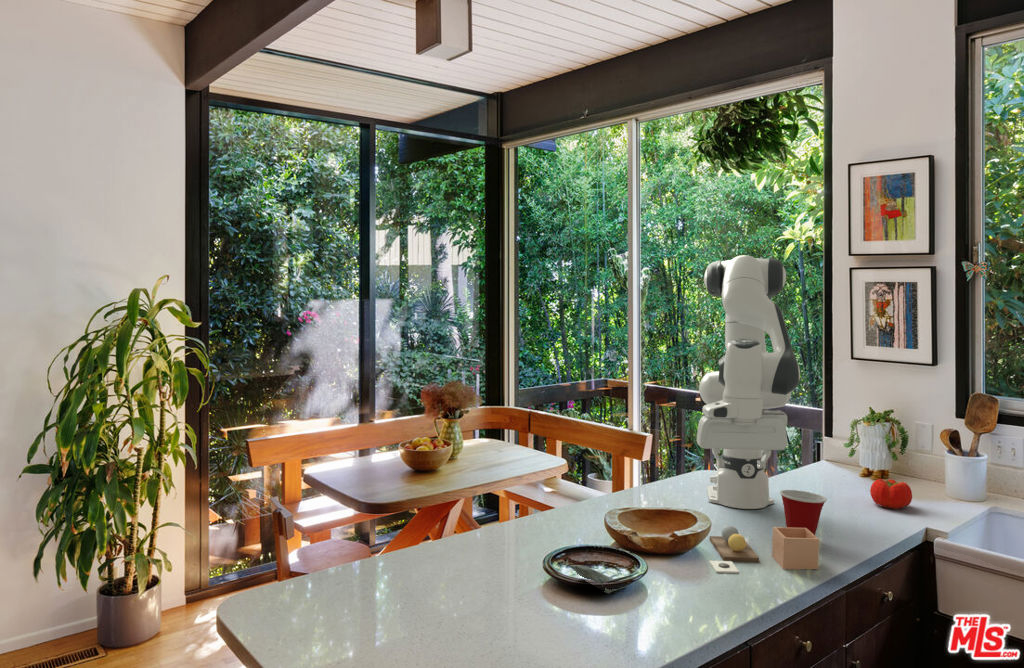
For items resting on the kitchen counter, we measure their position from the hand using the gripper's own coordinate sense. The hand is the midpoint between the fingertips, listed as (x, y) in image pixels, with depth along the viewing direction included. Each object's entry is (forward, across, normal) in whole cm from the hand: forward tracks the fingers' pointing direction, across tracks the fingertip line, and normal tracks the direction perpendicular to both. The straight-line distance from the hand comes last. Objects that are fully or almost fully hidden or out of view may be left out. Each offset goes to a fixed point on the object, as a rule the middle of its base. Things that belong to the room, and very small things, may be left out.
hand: (740, 468), depth 166 cm
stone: (+22, +34, +19) cm, 45 cm away
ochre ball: (+18, 0, 0) cm, 18 cm away
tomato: (+20, -56, -43) cm, 73 cm away
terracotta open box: (+21, -12, +4) cm, 24 cm away
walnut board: (+21, 0, -3) cm, 21 cm away
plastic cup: (+21, -19, -11) cm, 30 cm away
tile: (+21, +5, +8) cm, 23 cm away
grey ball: (+18, 0, -6) cm, 19 cm away
